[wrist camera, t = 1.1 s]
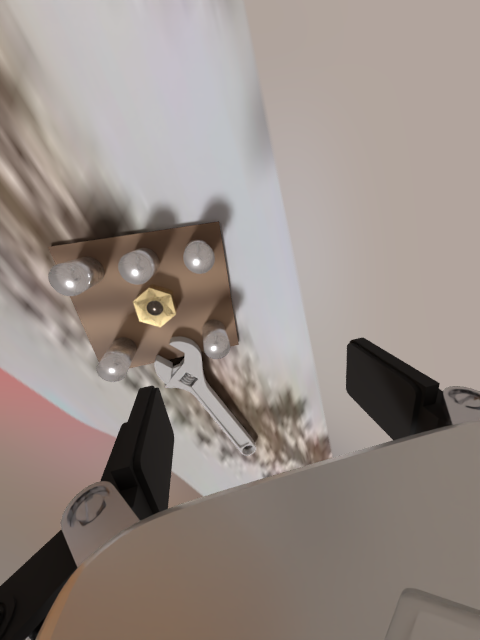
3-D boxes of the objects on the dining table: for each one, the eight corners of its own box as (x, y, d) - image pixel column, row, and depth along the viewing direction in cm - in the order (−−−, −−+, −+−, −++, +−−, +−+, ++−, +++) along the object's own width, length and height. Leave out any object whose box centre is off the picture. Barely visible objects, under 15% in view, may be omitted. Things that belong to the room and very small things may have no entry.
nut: (129, 303, 28) (124, 308, 26) (159, 277, 27) (157, 280, 26) (155, 326, 29) (153, 333, 28) (184, 302, 29) (183, 307, 27)
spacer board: (50, 246, 25) (48, 246, 24) (218, 221, 27) (218, 221, 26) (105, 371, 31) (104, 373, 30) (237, 343, 33) (238, 344, 33)
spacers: (69, 259, 25) (42, 266, 20) (208, 237, 27) (211, 239, 22) (112, 361, 30) (97, 385, 26) (226, 337, 32) (232, 355, 27)
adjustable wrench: (256, 442, 41) (259, 451, 40) (223, 458, 41) (225, 468, 40) (189, 330, 30) (189, 336, 29) (144, 351, 30) (142, 358, 29)
